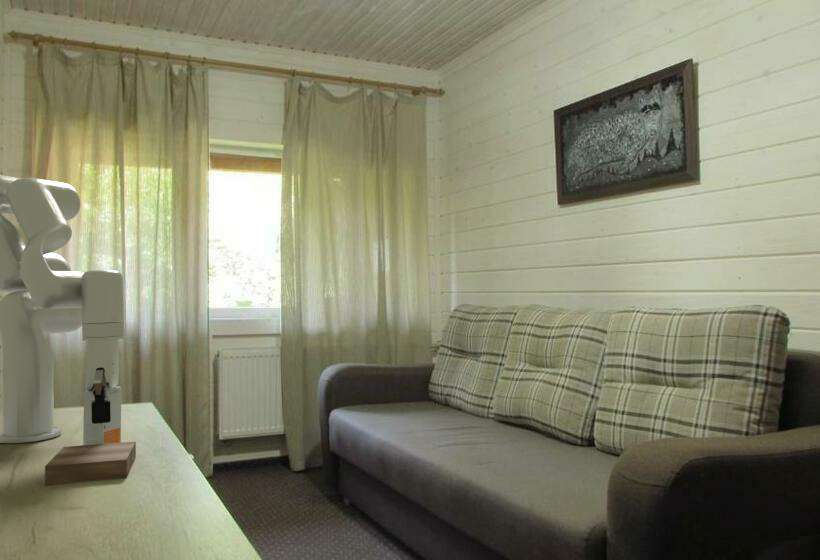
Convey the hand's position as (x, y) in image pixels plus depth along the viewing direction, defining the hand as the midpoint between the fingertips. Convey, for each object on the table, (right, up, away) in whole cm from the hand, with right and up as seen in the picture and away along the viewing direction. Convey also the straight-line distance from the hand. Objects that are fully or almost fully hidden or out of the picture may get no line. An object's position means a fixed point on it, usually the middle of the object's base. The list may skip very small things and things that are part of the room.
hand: (105, 418), depth 126 cm
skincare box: (-1, -6, 0) cm, 6 cm away
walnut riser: (+6, -6, -16) cm, 17 cm away
